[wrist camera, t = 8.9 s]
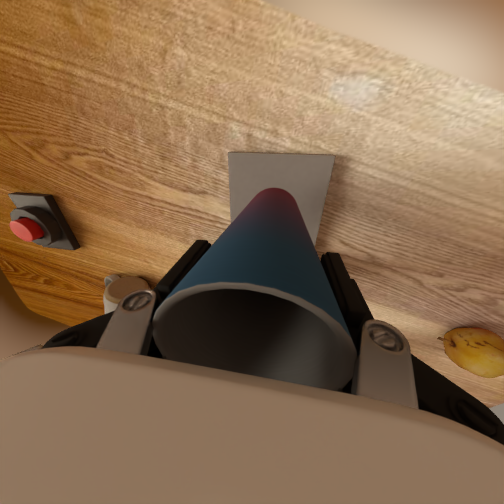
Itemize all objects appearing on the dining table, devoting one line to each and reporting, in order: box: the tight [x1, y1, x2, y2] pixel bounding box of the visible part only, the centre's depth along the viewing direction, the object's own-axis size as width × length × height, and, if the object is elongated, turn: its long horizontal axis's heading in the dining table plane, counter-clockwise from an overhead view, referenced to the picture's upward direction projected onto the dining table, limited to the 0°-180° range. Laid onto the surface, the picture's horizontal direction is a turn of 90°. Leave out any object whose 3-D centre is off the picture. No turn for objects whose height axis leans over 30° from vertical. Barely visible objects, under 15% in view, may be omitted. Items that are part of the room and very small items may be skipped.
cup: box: [152, 188, 357, 391], centre depth 13 cm, size 7×7×15 cm
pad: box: [8, 192, 80, 250], centre depth 32 cm, size 10×7×3 cm
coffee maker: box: [228, 152, 335, 247], centre depth 16 cm, size 17×12×24 cm
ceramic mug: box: [104, 274, 150, 314], centre depth 35 cm, size 11×8×8 cm
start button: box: [9, 217, 44, 242], centre depth 30 cm, size 4×4×2 cm
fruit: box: [437, 327, 504, 378], centre depth 28 cm, size 7×7×10 cm
